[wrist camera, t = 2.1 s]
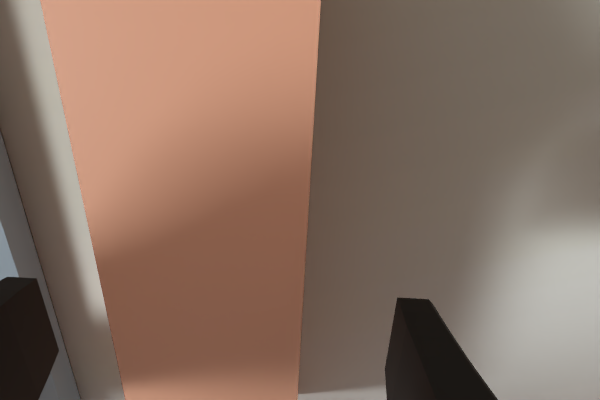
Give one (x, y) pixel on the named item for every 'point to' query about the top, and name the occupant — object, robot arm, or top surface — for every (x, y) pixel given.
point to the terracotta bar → (194, 183)
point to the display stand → (29, 274)
